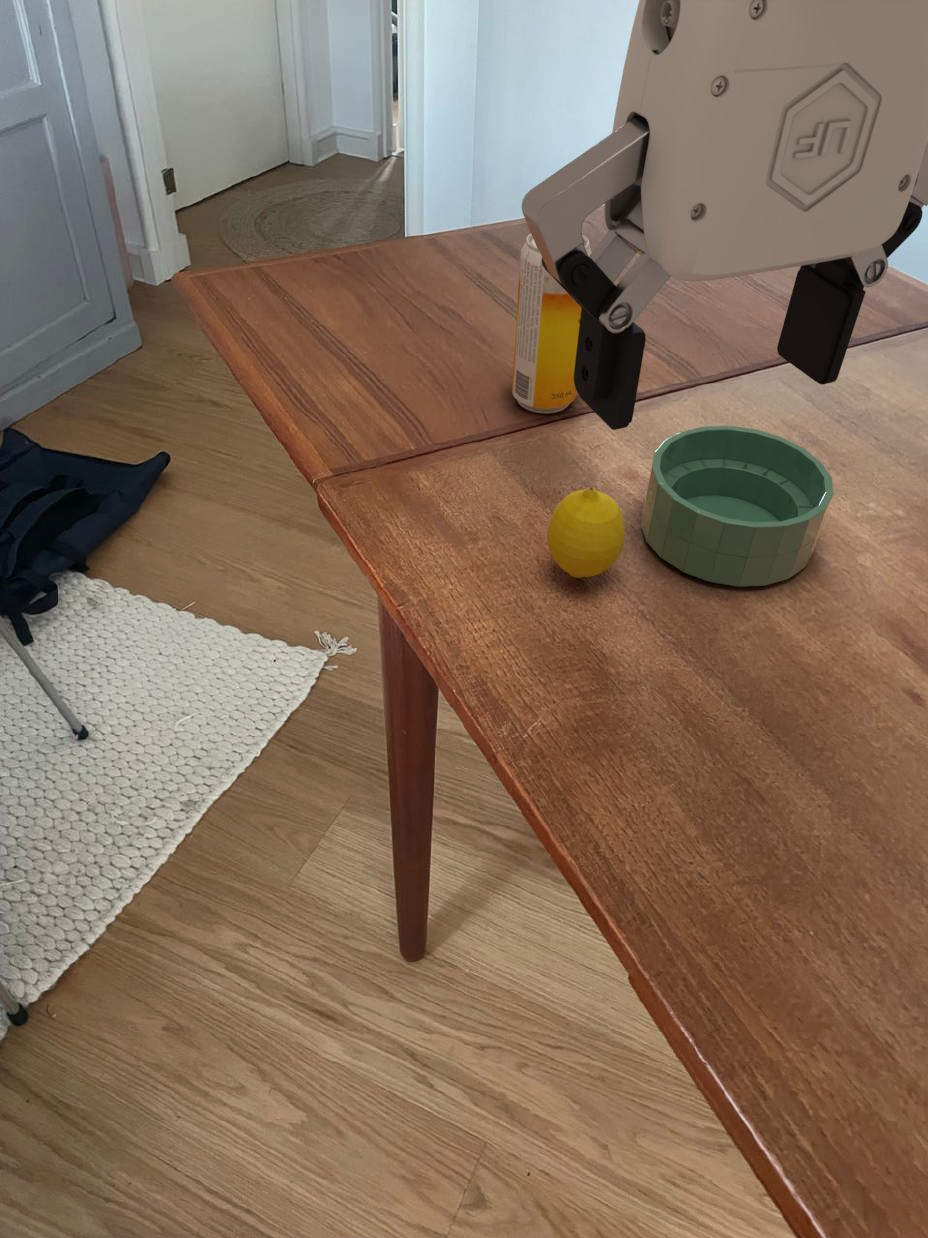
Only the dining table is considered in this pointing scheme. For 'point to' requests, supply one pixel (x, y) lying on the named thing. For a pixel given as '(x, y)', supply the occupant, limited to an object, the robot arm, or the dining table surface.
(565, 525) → the fruit
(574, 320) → the beer can
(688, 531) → the green pet bowl
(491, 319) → the dining table surface
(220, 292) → the dining table surface
